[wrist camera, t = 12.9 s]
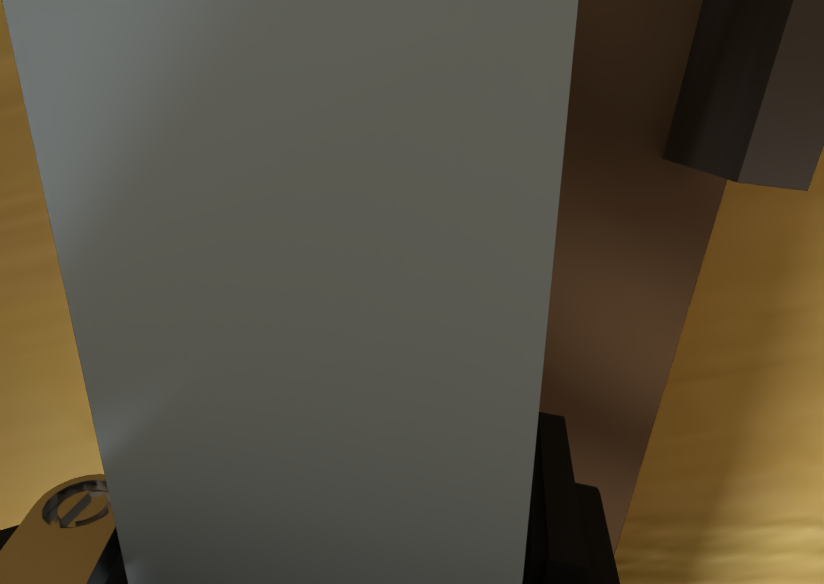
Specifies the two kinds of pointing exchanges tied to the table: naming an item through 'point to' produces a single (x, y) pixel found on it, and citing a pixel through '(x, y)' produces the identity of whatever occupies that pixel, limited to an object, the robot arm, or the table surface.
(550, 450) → the robot arm
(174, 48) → the grey rectangular block
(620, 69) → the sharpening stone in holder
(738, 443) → the table surface
